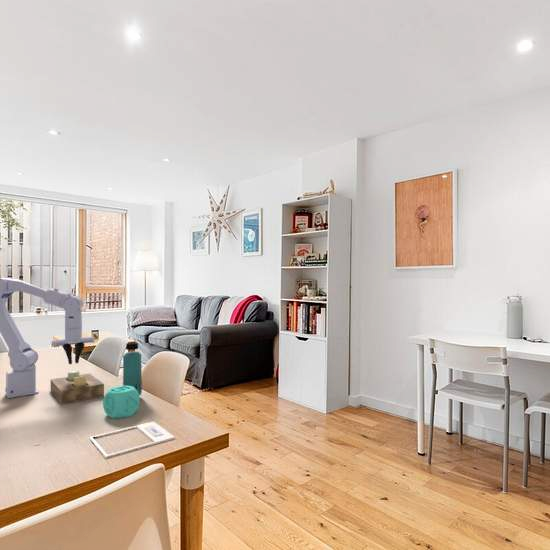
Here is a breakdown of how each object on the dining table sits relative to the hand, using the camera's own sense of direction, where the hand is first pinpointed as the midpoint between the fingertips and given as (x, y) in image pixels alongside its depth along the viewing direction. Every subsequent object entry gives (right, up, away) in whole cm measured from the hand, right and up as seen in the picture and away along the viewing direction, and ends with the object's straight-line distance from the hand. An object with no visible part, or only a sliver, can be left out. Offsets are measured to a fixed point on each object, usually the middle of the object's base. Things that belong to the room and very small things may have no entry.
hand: (73, 363), depth 151 cm
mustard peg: (+6, -8, -8) cm, 13 cm away
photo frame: (+38, -11, -44) cm, 59 cm away
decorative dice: (+28, -11, -25) cm, 39 cm away
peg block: (+3, -10, -4) cm, 12 cm away
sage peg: (0, -8, 0) cm, 8 cm away
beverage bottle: (+26, -11, -10) cm, 30 cm away
